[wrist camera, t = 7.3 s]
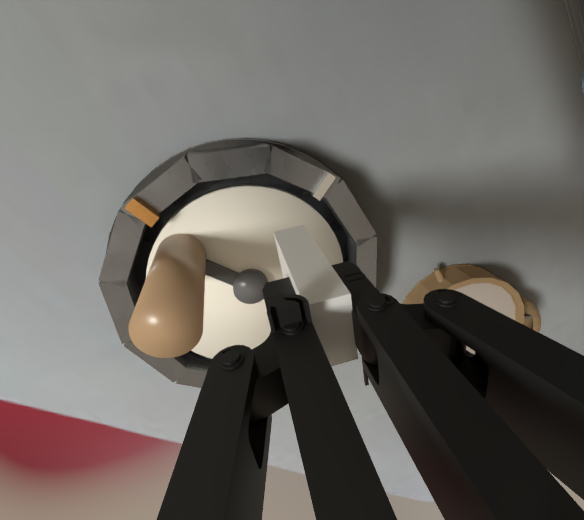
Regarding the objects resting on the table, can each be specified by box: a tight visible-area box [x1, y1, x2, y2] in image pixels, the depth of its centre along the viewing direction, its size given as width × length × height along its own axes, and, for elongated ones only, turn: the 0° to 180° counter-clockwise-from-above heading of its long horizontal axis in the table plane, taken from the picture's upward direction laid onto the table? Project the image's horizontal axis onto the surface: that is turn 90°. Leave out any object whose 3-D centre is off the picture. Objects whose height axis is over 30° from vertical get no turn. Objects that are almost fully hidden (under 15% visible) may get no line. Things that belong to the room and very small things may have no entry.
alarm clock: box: [403, 264, 541, 354], centre depth 33 cm, size 11×5×15 cm
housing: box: [99, 138, 377, 388], centre depth 26 cm, size 20×20×4 cm
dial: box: [128, 184, 343, 359], centre depth 22 cm, size 14×14×10 cm
